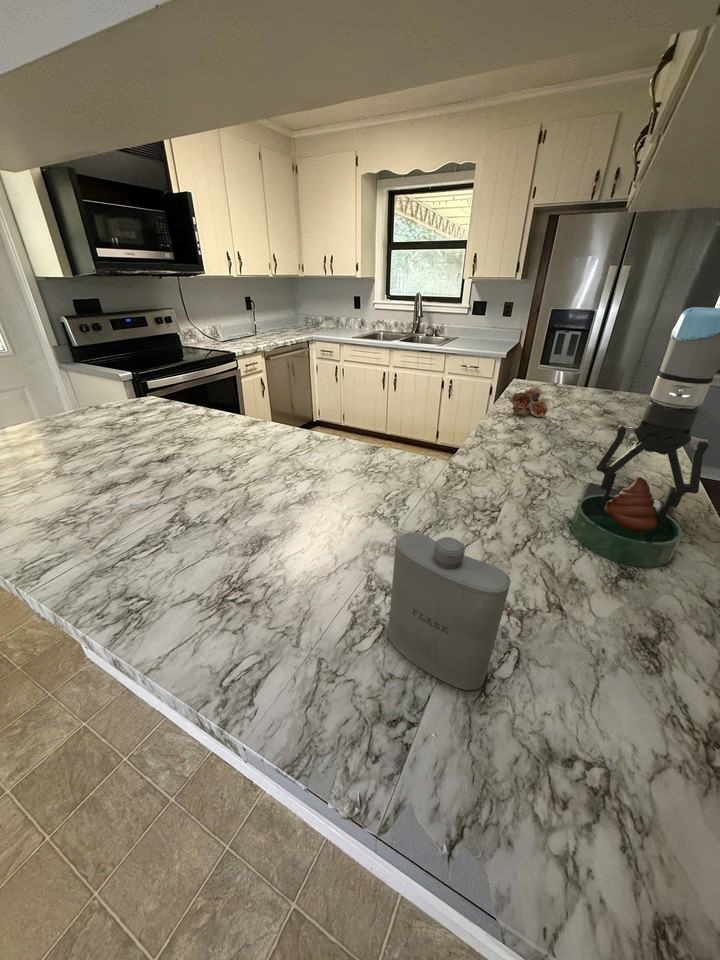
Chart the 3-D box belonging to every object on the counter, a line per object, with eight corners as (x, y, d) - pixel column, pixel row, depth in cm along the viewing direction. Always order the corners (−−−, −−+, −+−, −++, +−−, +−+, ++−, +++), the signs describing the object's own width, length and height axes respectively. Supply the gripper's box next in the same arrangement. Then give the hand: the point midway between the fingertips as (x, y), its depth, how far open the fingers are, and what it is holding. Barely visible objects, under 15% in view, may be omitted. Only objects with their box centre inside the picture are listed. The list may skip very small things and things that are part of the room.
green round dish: (671, 534, 86) (681, 512, 83) (671, 581, 72) (683, 557, 70) (578, 506, 95) (585, 486, 92) (563, 543, 81) (570, 521, 79)
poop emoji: (593, 507, 85) (607, 468, 81) (631, 506, 86) (646, 467, 82) (624, 534, 76) (641, 492, 72) (666, 533, 77) (685, 491, 73)
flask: (377, 641, 59) (385, 530, 49) (399, 618, 63) (410, 511, 53) (472, 703, 50) (503, 584, 41) (490, 672, 55) (522, 557, 45)
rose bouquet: (495, 396, 155) (532, 393, 143) (515, 381, 163) (551, 377, 152) (502, 427, 159) (539, 426, 148) (521, 411, 168) (557, 408, 156)
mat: (670, 505, 97) (671, 503, 96) (670, 528, 88) (671, 526, 88) (589, 484, 106) (589, 482, 105) (581, 502, 97) (582, 500, 97)
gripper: (601, 396, 73) (569, 501, 83) (759, 421, 62) (699, 538, 72) (606, 388, 78) (575, 488, 88) (752, 409, 67) (697, 520, 77)
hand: (631, 510), depth 80 cm, fingers closed on poop emoji, 9 cm apart
